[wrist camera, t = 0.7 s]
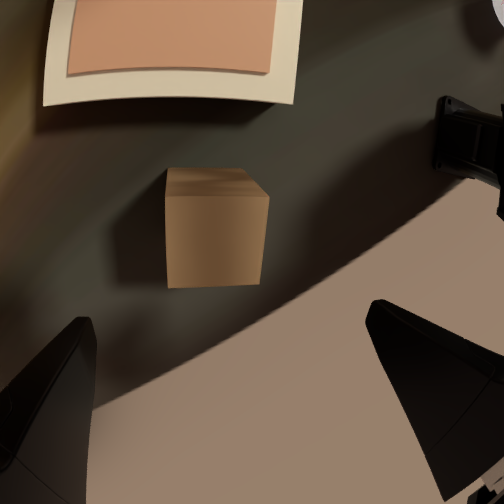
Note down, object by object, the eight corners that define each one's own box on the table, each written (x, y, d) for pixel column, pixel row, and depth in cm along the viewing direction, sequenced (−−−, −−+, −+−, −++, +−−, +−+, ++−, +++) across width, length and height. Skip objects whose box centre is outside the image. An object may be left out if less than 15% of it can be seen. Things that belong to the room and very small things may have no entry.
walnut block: (241, 168, 19) (269, 196, 14) (236, 235, 21) (259, 284, 16) (168, 167, 18) (165, 196, 13) (168, 236, 20) (168, 288, 15)
